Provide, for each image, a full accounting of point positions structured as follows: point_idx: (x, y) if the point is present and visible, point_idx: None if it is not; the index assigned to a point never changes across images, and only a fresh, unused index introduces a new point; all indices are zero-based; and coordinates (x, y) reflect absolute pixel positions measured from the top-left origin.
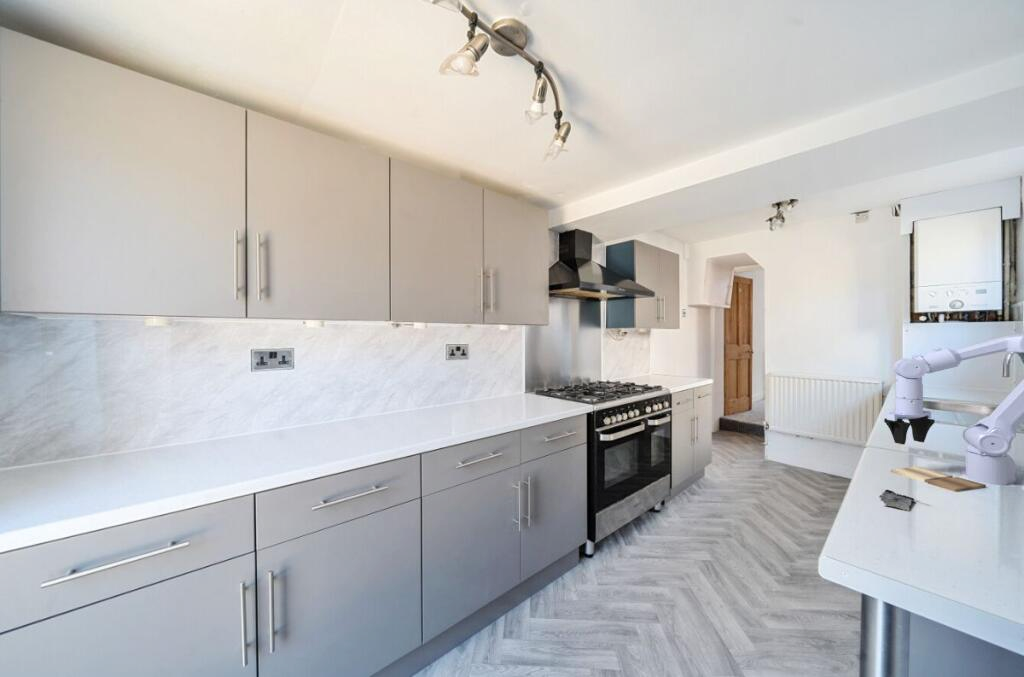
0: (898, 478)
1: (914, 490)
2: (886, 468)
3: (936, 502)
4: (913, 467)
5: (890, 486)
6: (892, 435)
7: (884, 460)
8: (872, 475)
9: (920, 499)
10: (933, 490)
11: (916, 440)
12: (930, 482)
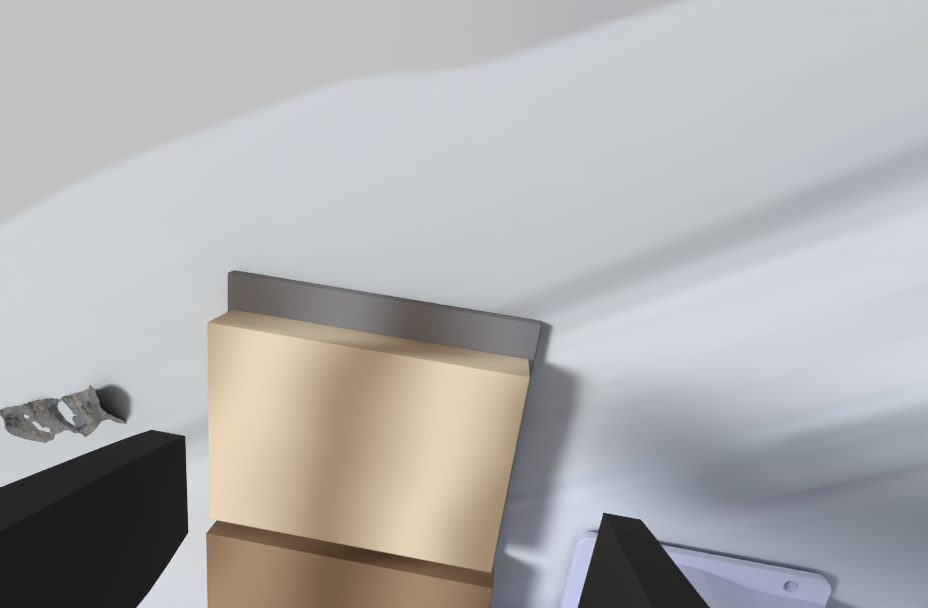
0: None
1: None
2: (414, 190)
3: None
4: (454, 376)
5: (36, 397)
6: (9, 484)
7: (696, 33)
8: (121, 238)
9: None
10: None
11: (593, 555)
12: (210, 541)
